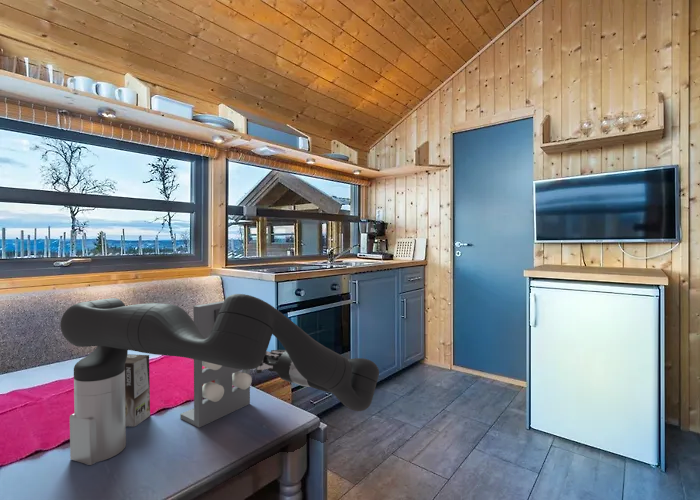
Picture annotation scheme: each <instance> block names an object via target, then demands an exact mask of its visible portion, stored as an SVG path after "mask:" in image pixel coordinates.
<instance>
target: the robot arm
mask: <svg viewBox="0 0 700 500" xmlns="http://www.w3.org/2000/svg"><path fill="white" fill-rule="evenodd" d="M223 301H224V303H223V305H222V307H221V309H220V311H219V314H218V316H217V319H216V321H215V324H214V326H213V328H212V331H211V333H210V335H209V337H208V338H205V337H203V335H202V334H201V333H200V332H199V330H198V328H197V327H196V325H195V323H194V319H192V317H191V316H190V314H188V312H187V311H186V310H184V308H182V307H181V306H178V305H176V304H172V303H156V302H153V303H151V302H150V303H139V304H131V305H126V304H125V303H124V302H123V300H122V299H119V298H116V297H114V298H113V297H112V298H104V299H103V298H102V299H94V300H90V301H89V300H88V301H82V302H77V303H75V304H73V305H71V306H69V307H68V308H66V310H65V311H64V312H63V314H62V316H61V319H60V331H61V333H62V335H63V337H64V338H65V340H66V341H67V342H69V344H71V345H73V346H74V347H78V348H85V347H96V348H94V350H93V351H91V352H90V353H89V354H87V356H85V357H83V358H81V359H80V360H79V361H78V362H76V363H75V365H74V367H73V403H74V404H73V406H74V408H73V409H74V411H73V412H74V413H72V414H70V415H69V444H70V445H69V449H70V450H69V451H70V452H69V453H70V454H69V455H70V460H71V461H74V462H77V463H81V464H85V465H88V466H93V465H94V464H96V463H98V462H103V461H106V460H108V459H111V458H113V457H115V456H117V455H118V454H120V453H121V452H122V451H123V450H124V449H125V448H126V446H127V436H126V435H127V434H126V433H127V430H126V429H127V428H126V427H127V426H126V413H125V362H126V359H127V354H129V352H128V351H132V352H133V351H134V352H137V353H143V354H148V355H156V356H157V355H158V356H167V357H168V356H169V357H177V358H185V359H186V358H187V359H191V360H194V359H195V360H200V361H204V362H208V363H213V364H217V365H221V366H225V367H230V368H235V369H245V370H248V369H250V370H256V371H255V373H257V374H261V373H263V372H262V371H264V370H268V371H269V372H274V373H276V375H278V378H280V380H283V381H285V382H289V383H292V384H295V385H299V386H301V387H305V388H306V387H309V388H312V389H315V390H319V391H322V392H325V393H332V395H333V396H335V398H336V399H338V401H339V402H340V403H341V404H342V405H343V406H345V407H346V408H348V409H349V410H351V411H354V412H364V411H365V410H367V409H369V407H370V406H371V404H372V401H373V398H374V394H375V390H376V387H377V383H378V380H379V375H380V369H379V367H378V365H377V364H376V363H375V362H374V361H372V360H370V359H368V358H363V357H362V358H360V357H357V358H346V357H345V356H343V355H341V354H340V353H337V352H335V351H334V350H332V349H330V348H329V347H326V346H325V345H324V344H321V343H320V342H318V341H317V340H315V339H314V338H313V337H312V336H310V335H309V334H308V333H307V332H305V331H304V329H302V328H301V327H299V326H298V325H297V324H296V323H295V322H293V321H292V320H291V319H290V318H288V317H287V316H286V315H285V314H283V313H282V312H281V311H280V310H278V309H277V308H276V307H275V306H273V305H271V303H270V304H269V303H268V302H267V301H264V300H262V299H261V298H258V297H255V296H252V295H249V294H246V293H245V294H243V293H234V294H231V295H228V296H227V297H226V298H225V299H224V300H223ZM272 336H274V337H275V338H276V339H277V340H278V341H279V342H280V344H281V345H282V347H283V348H284V349H273V350H270V351H268V348H269V346H270V342H271V339H272Z"/></svg>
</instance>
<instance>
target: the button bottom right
mask: <svg viewBox="0 0 700 500" xmlns="http://www.w3.org/2000/svg"><path fill="white" fill-rule="evenodd" d="M252 378H253V377H252V375H251V374H250V375H249V374H246V373H243V372H242V371H238V372H235V373H233V374H232V387H238V388H240V389H243V390H245V389H247V388H248V387H249V386H250V387H251V385H252V382H253V381H252V380H253V379H252Z"/></svg>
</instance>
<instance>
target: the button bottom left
mask: <svg viewBox="0 0 700 500" xmlns="http://www.w3.org/2000/svg"><path fill="white" fill-rule="evenodd" d="M223 394H224V388H223V386H221V385H218V384H216V383H213V382H208V383H205V384H204V385H203V386H202V398H204V399H208V400H211V401H213V402H217V401H219V400H220V399H221V398H222V397H223Z"/></svg>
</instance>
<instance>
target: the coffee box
mask: <svg viewBox="0 0 700 500" xmlns="http://www.w3.org/2000/svg"><path fill="white" fill-rule="evenodd" d="M150 379H151V378H150V354H132V353H131V354H130V353H128V354H127V359H126V362H125V413H126V427H133V428H134V427H137V426H138V425H140V424H141V423H142V422H143V421H145V420H146V419H147V418H149V417H150V416H151V391H150V389H151V385H150V384H151V382H150Z"/></svg>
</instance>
